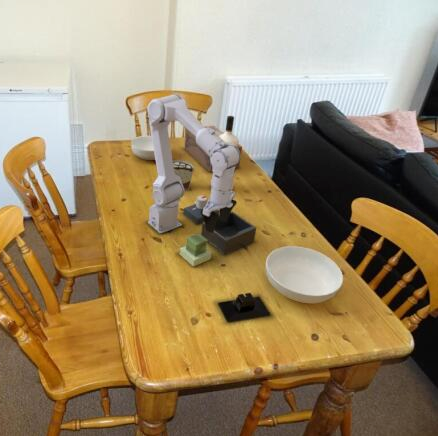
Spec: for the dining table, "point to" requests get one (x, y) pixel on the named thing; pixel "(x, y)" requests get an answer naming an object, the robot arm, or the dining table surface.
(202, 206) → the dial knob
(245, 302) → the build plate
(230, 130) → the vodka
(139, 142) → the cereal bowl
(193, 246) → the cube
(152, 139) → the robot arm
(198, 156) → the tissue box cover
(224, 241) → the black storage bin
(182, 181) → the food container
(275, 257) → the serving bowl
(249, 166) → the dining table surface
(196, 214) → the rotary dial base
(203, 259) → the mint block
